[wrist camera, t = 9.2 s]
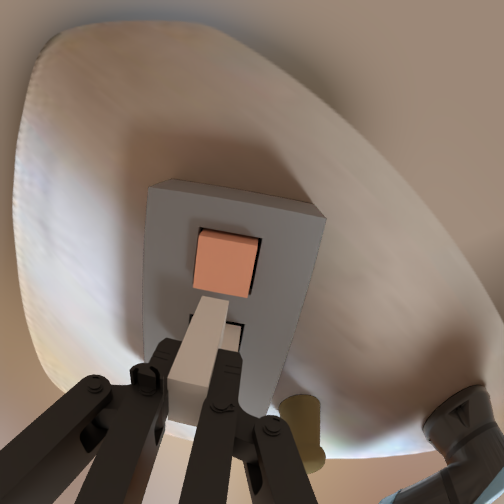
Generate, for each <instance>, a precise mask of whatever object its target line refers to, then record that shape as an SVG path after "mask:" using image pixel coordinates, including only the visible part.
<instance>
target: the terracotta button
mask: <svg viewBox="0 0 504 504" xmlns="http://www.w3.org/2000/svg"><path fill="white" fill-rule="evenodd" d="M257 247H258V237H253V236H247V235H242V234H236V233H231V232H225V231H220V230H214V229H209V228H204V229H203V231H202V232H201V233H200V235H199V239H198V247H197V255H196V264H195V273H194V283H193V288H197V289H202V290H207V291H212V292H217V293H222V294H228V295H233V296H239V297H244V298H247V297H248V292H249V287H250V282H251V277H252V272H253V267H254V262H255V257H256V252H257Z"/></svg>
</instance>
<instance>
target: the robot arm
mask: <svg viewBox="0 0 504 504" xmlns="http://www.w3.org/2000/svg"><path fill="white" fill-rule="evenodd" d="M228 305H229V301H227V300H221V299H216V298H211V297H206V296H202V297H201V300H200V302H199V304H198V306H197V309H196V311H195V313H194V316H193V318H192V320H191V323H190V325H189V327H188V330H187V332H186V334H185V337H184V339H183V341H179V340H175V339H171V338H167V337H166V338H165V339H163V340H162V341H160V342H159V343H158V345H157V347H156V349H155V351H154V353H153V355H152V357H151V359H150V361H149V362H148V363H140V364H137V365H135V366H133V367H132V368H131V369H130V377H131V384H130V385H111V384H110V382H109V380H107V379H106V378H105V377H103V376H101V375H89V376H86V377H85V378H83V379H82V380H81V381H80V382H78V383H77V384H76V385H75V386H74V387H73V388H71V389H70V390H69V391H68V392H67V393H66V394H64V395H63V396H62V397H61V398H60V399H59V400H57V401H56V402H55V403H54V404H53V405H52V406H51V407H50V408H48V409H47V410H46V411H45V412H44V413H43V414H41V415H40V416H39V417H38V418H37V419H36V420H34V421H33V422H32V423H31V424H30V425H29V426H28V427H26V428H25V429H24V430H23V431H22V432H21V433H20V434H19V435H17V436H16V437H15V438H14V439H13V440H12V441H11V442H10V443H8V444H7V445H6V446H5V447H4V448H3V449H2V450H0V504H53V502H54V501H55V500H56V499H57V498H58V497H59V496H60V495H61V493H63V491H64V490H65V489H66V488H67V487H68V486H69V485H70V484H71V483H72V481H73V480H74V479H75V478H76V477H77V476H78V475H79V474H80V472H81V471H82V470H83V469H84V468H85V467H86V466H87V465H88V464H89V462H90V461H91V460H92V459H93V458H94V457H95V456H96V457H95V459H94V461H93V463H92V465H91V468H90V470H89V472H88V474H87V476H86V479H85V481H84V483H83V485H82V488H81V490H80V492H79V494H78V497H77V499H76V501H75V503H74V504H142V500H143V497H144V494H145V490H146V487H147V484H148V481H149V478H150V475H151V472H152V468H153V465H154V462H155V459H156V456H157V453H158V450H159V447H160V444H161V441H162V438H163V435H164V432H165V421H166V418H167V415H168V420H171V421H175V422H179V423H183V424H187V425H192V426H196V427H197V429H196V433H195V437H194V442H193V446H192V450H191V454H190V458H189V462H188V466H187V470H186V475H185V479H184V483H183V487H182V491H181V496H180V500H179V504H226V500H227V493H228V485H229V478H230V470H231V461H232V456H233V457H236V458H237V459H240V460H242V461H243V464H244V468H245V473H246V477H247V482H248V486H249V491H250V494H251V499H252V503H253V504H318V502H317V500H316V497H315V495H314V492H313V489H312V487H311V484H310V481H309V479H308V476H307V473H306V470H305V468H304V465H303V462H302V460H301V457H300V454H299V451H298V449H297V446H296V443H295V440H294V438H293V435H292V432H291V429H290V427H289V425H288V423H287V422H286V421H285V420H283V419H282V418H280V417H278V416H274V415H266V416H262V417H261V418H257V417H255V416H252V415H250V414H248V413H246V412H245V411H244V410H243V409H242V408H241V406H240V405H239V402H238V396H239V388H240V380H241V372H242V364H243V359H242V357H241V355H240V353H239V352H235V351H230V350H225V349H221V345H222V341H223V335H224V329H225V323H226V317H227V311H228ZM423 432H424V435H425V437H426V439H427V441H428V442H429V443H430V444H432V445H433V447H434V448H435V449H436V450H437V451H439V453H441V454H442V455H443V457H444V459H445V461H446V463H447V467H445V468H444V469H442V470H440V471H438V472H437V473H435V474H433V475H431V476H429V477H427V478H425V479H423V480H421V481H419V482H417V483H415V484H413V485H411V486H409V487H406V488H404V489H400V490H398V491H397V492H396V493H394V494H392V495H390V496H388V497H385V498H384V499H382V500H381V501H380V502H379V504H490V503H492V502H493V501H495V500H496V499H497V498H498V497H499V496H500V495H502V494H503V493H504V435H503V433H502V432H501V430H500V428H499V427H498V425H497V423H496V421H495V419H494V415H493V409H492V405H491V401H490V395H489V393H488V392H487V390H486V389H485V387H484V386H482V385H475V386H471V387H469V388H466V389H464V390H462V391H460V392H459V393H457V394H455V395H454V396H452V397H451V398H450V399H448V400H447V401H446V402H444V403H443V404H442V405H441V406H440V407H439V408H437V409H436V410H435V411H434V412H433V414H432V415H431V416H430V417H429V418H428V420H427V421H426V423H425V425H424V428H423Z"/></svg>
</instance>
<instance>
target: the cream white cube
mask: <svg viewBox="0 0 504 504" xmlns="http://www.w3.org/2000/svg"><path fill="white" fill-rule="evenodd" d="M192 318H193V317H192ZM191 320H192V319H191ZM190 323H191V322H190ZM189 325H190V324H189ZM187 330H188V329H187ZM240 331H241V326H237V325H231V324H226V323H225V329H224V335H223V341H222V345H221V349H225V350H230V351H235V352H238V347H239V339H240Z"/></svg>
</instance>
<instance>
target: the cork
mask: <svg viewBox="0 0 504 504" xmlns="http://www.w3.org/2000/svg"><path fill="white" fill-rule="evenodd" d="M279 413H280V417H281V418H282V419H283V420H285V421H286V422H287V423H288V425H289V427H290V429H291V432H292V435H293V438H294V440H295V443H296V446H297V449H298V451H299V454H300V457H301V460H302V462H303V465H304V468H305V470H306V473H307V474H311V473H314V472H316V471H318V470H320V469H321V468H322V467H323V465H324V464H325V458H326V456H325V452H324V450H323V449H322V447H320V402H319V400H318V399H317V398H316V397H314V396H311V395H295V396H292V397H289V398H287V399H285V400H284V401H283V402H282V403H281V404H280V406H279Z"/></svg>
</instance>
